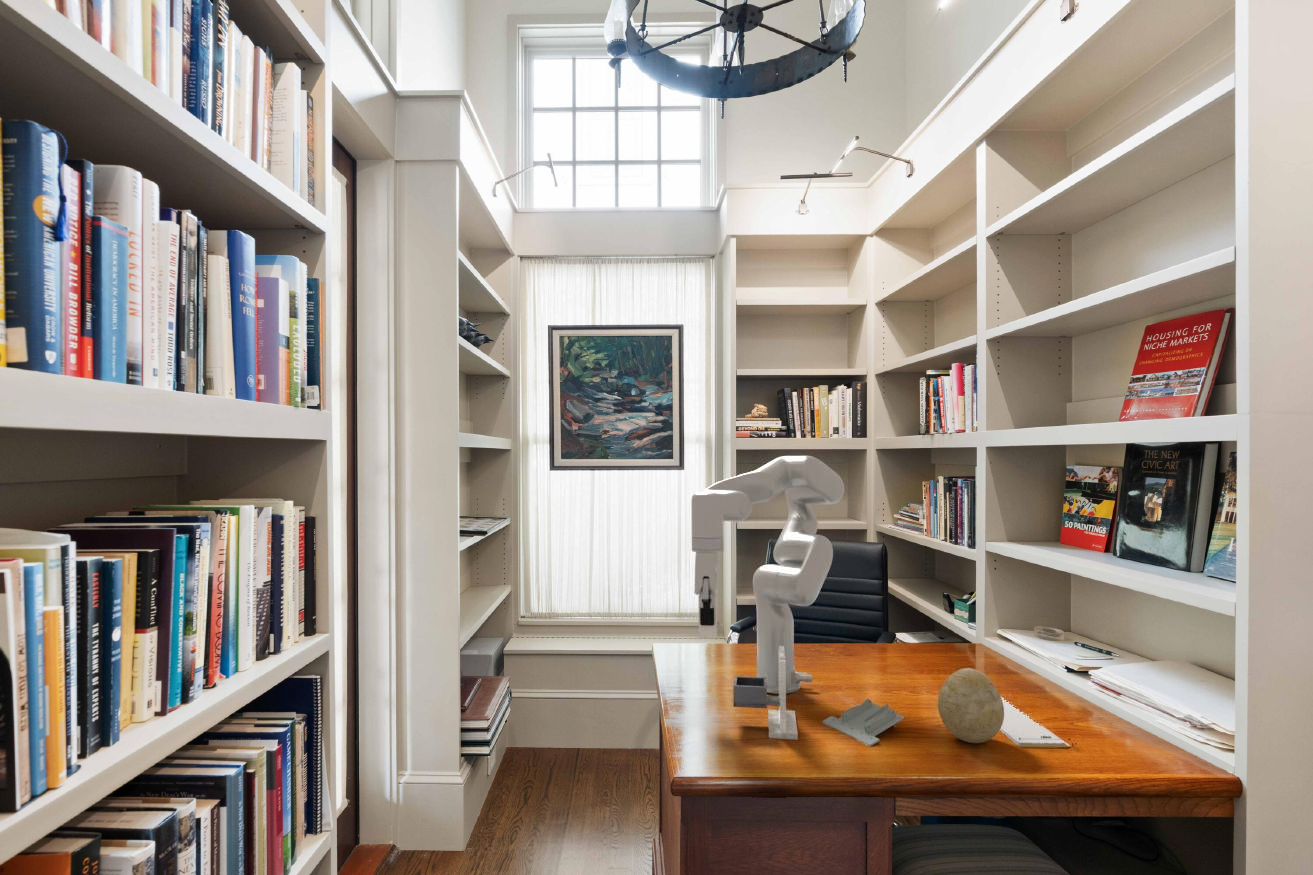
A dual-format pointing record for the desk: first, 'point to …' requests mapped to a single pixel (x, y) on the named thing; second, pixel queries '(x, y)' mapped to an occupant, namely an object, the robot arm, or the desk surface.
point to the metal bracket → (865, 721)
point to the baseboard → (1027, 730)
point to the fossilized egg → (971, 706)
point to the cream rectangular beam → (708, 631)
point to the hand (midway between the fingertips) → (708, 621)
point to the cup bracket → (767, 701)
